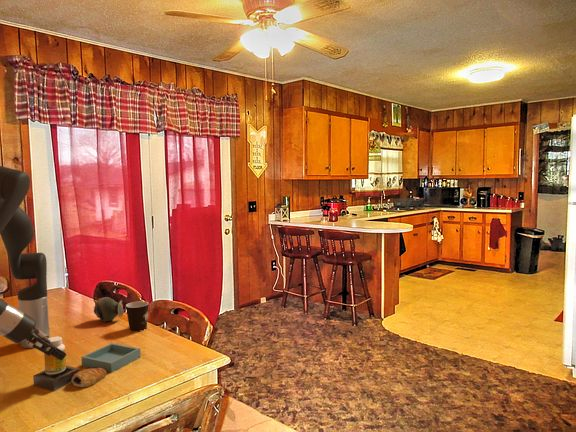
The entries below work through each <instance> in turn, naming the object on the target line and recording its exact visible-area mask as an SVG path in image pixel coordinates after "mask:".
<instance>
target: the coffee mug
mask: <svg viewBox="0 0 576 432" xmlns="http://www.w3.org/2000/svg"><path fill="white" fill-rule="evenodd" d="M149 304H150V303H149V302H148V301H142V300H140V301H131V302H129V303H127V304H125V309H126V314H127V321H128V326H129V327H128V328H129V331H130V330H131V332H133V331H138V332H141V331H140V330H143V331H145V330H146V329H147V327H148V318H149V317H148V316H149V307H150V306H149ZM144 329H145V330H144Z"/></svg>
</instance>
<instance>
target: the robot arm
mask: <svg viewBox="0 0 576 432" xmlns="http://www.w3.org/2000/svg"><path fill="white" fill-rule="evenodd" d="M30 186H31V179H30V175H29V174H28V173H27V172H26V171H24V170H23V171H22V170H20V169H14V168H10V167H6V166H1V165H0V237H1V240H2V242H3V245H4V248H5V250H6V251H5V252H6V253H7V258H8V264H9V268H10V272H11V275H12V277H13V278H14V280H15V279H16V280H20V281H21V280H35V282H34V283H32V284H30V285H29V286H26V287H24V288H22V289H19V290H18V291H17V306H18V307H16V306H14V305H12V304H9V303H8V302H7V301H5V300H3V299H2V298H0V335H1V336H2V337H4V338H5V339H7V340H9V341H11V342H13V344H19V345H20V347H21V348H23V349H24V348H25V349H29V348H30V349H33V348H34V349H36V350H38V351H39V352H42V353H43V354H44V353H45V354H47V355H49V356H50V355H52V356H54V357H56V358H57V359H59V360H63V359H64V357H65V358H66V356H67V353H66V351H65V352H63V351H62V350H60V349H58V348H57V347H56V346H54V345H53V344H51V341H50V340H49V338H51V335H50V318H49V301H48V300H49V299H48V285H47V283H48V282H47V281H48V280H47V279H48V278H47V267H48V265H47V262H48V261H47V257H46V255H45V253H44V252H29V253H26V252H25V253H23V251H24V250H25V249H27V247H28V246H29V245H30V244H31V242H32V241H33V239H34V237H35V231H34V230H35V229H34V226H33V222H32V220H31V216H30V215H28V214H27V212H26V211H25V210H24V209H23V208H22V207H20V205H22V203H23V202H24V200H25V198H26V196H27V195H28V193H29V189H30ZM48 347H50V349H49V351H48V350H46V349H47V348H48Z"/></svg>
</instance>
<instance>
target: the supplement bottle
mask: <svg viewBox="0 0 576 432" xmlns="http://www.w3.org/2000/svg"><path fill="white" fill-rule="evenodd" d="M49 340H50V341H51V344H53V345H54V346H56V347H57V348H58V349H60V350H62V351H63V352H65V353H66V345H65V344H63V338H62V337H61V336H52V337H51V336H50V338H49ZM49 349H50V347H48V348H47V349H46V350H48V351H49ZM43 354H44V357H43V358H44V368H45V369H44V371H45V373H46V374H50V375H52V374H58V373H61V372H63V371H64V370H65V369H66V366H67V362H66V356H65V357H64V359H63V360H59V359H57V358H56V357H54V356H52V355H50V356H49V355H47V354H45V353H43Z"/></svg>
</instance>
